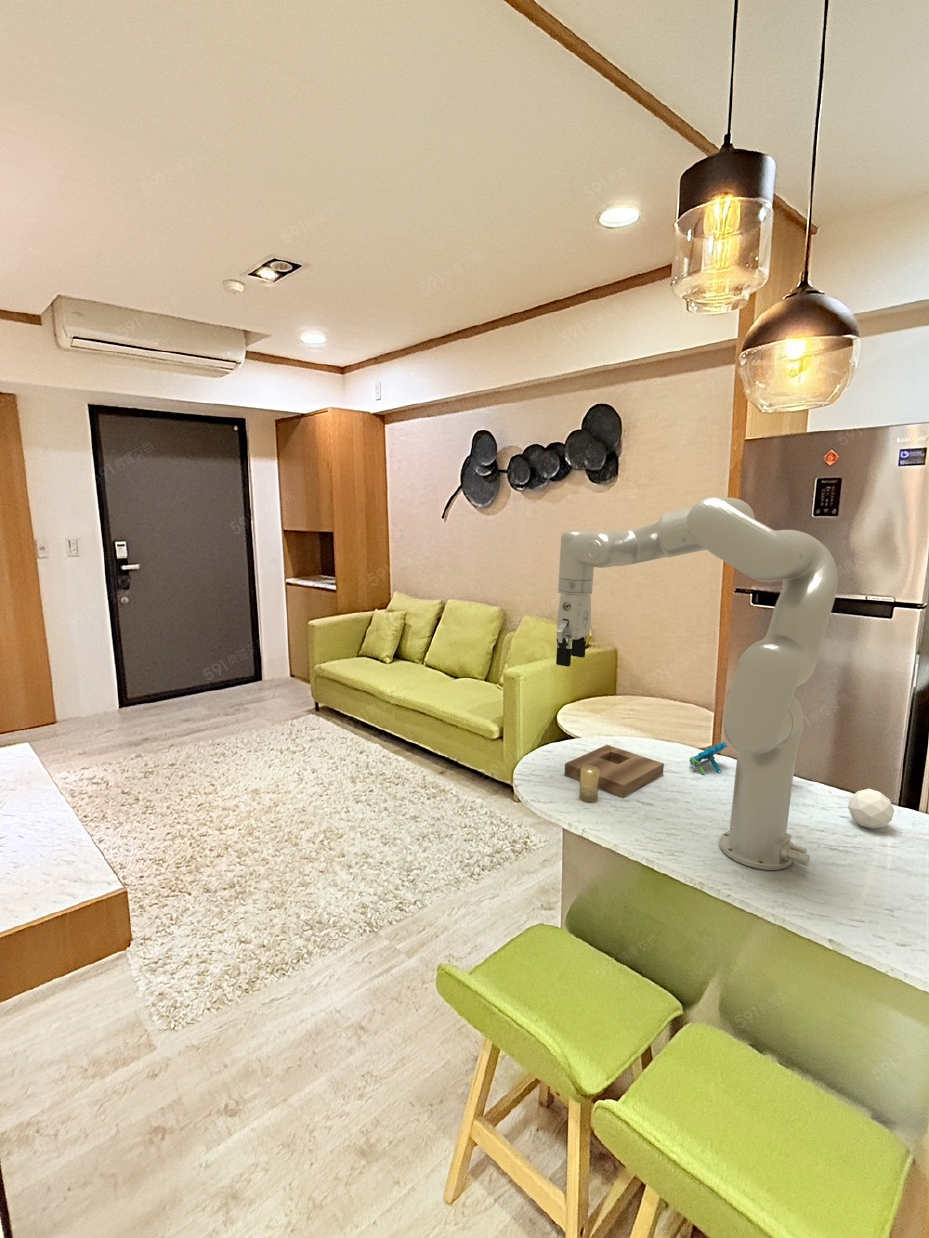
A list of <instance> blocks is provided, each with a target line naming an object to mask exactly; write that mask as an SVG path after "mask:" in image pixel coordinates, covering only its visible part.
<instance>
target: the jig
mask: <svg viewBox="0 0 929 1238" xmlns="http://www.w3.org/2000/svg"><path fill="white" fill-rule="evenodd" d="M585 765H591V766H595V767H598V768H599V786H598V790H601V791H604V792H606V793H609V794H611V795H614V796H617V797H620V798H621V799H624V798H626V797H627V796H630V795H631V794H632V793H634V792H636V791H637V790H640V789H642V787H645V786H647V785H648V784H650V783H651V782H654V781H655V780H657V779H658V778H660V777H662V776H663V775H664V769H665V768H664V767H665V766H664V765H665V763H664V762H660V761H658V760H654V759H651V758H648V757H645V756H643V755H639V754H637V753H633V752H631V751H628V750H624V749H621V748H618V747H615V746H611V745H608V744H606V745H603V746H601V747H599V748H596V749H594V750H592V751H589V752H587V753H585V754H583V755H581V756H579V757H576V758H574V759H573V760H569V761H568V762H566V763H564V776H566V777H568V778H571V779H573V780H576V781H578V782H580V775H581V767H582V766H585Z"/></svg>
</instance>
